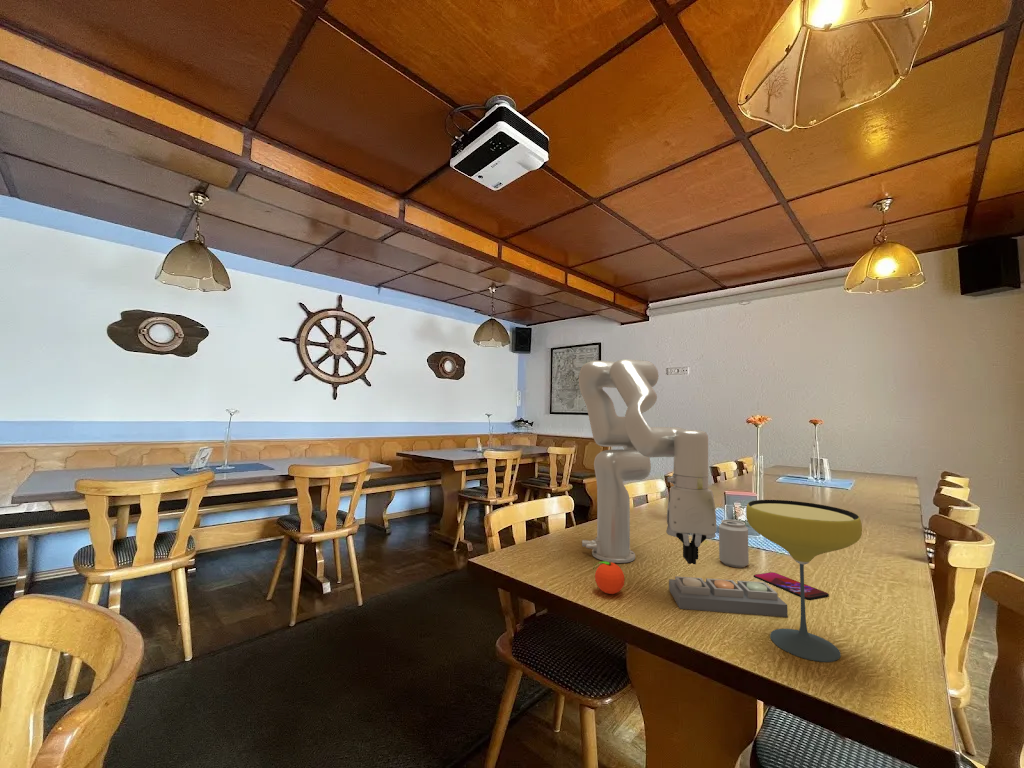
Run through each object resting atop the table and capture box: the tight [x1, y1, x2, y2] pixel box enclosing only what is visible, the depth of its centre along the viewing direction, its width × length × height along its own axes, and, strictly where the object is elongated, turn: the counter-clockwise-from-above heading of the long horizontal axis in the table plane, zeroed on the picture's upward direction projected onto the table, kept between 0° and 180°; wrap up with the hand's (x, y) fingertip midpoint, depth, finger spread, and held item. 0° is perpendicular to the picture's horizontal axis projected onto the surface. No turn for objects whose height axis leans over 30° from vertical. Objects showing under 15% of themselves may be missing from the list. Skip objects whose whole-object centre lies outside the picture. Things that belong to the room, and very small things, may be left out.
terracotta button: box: [714, 579, 734, 589], centre depth 96 cm, size 4×4×2 cm
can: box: [718, 519, 750, 568], centre depth 121 cm, size 8×8×12 cm
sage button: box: [747, 581, 767, 592], centre depth 95 cm, size 4×4×2 cm
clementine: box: [593, 561, 625, 595], centre depth 100 cm, size 8×7×7 cm
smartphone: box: [753, 571, 830, 601], centre depth 105 cm, size 8×1×15 cm
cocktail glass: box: [745, 499, 863, 663], centre depth 79 cm, size 18×18×25 cm
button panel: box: [668, 575, 789, 618], centre depth 95 cm, size 22×10×4 cm, turn 82°
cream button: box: [683, 577, 702, 587], centre depth 97 cm, size 4×4×2 cm
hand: (690, 561), depth 97 cm, fingers closed
